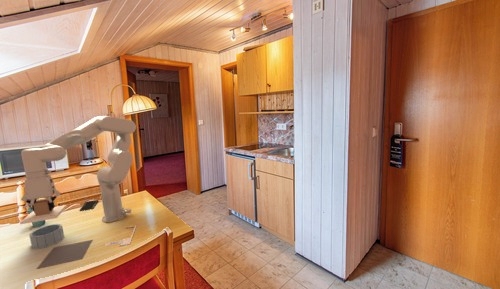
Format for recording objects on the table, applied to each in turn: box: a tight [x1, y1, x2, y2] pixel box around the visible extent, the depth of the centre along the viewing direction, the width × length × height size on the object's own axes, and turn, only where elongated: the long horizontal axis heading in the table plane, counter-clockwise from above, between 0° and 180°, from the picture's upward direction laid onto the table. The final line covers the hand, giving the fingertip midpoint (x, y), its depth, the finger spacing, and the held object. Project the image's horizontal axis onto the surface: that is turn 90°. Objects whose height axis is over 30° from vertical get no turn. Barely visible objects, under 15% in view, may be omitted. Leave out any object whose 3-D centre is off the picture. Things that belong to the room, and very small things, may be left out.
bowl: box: [29, 223, 65, 250], centre depth 113 cm, size 12×12×6 cm
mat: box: [36, 239, 94, 270], centre depth 103 cm, size 16×16×1 cm
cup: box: [22, 198, 46, 228], centre depth 130 cm, size 14×8×15 cm, turn 10°
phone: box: [79, 199, 99, 212], centre depth 157 cm, size 8×1×15 cm
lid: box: [19, 198, 67, 225], centre depth 110 cm, size 13×13×7 cm
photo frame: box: [104, 225, 137, 247], centre depth 116 cm, size 15×1×18 cm
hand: (44, 210), depth 110 cm, fingers closed on lid, 4 cm apart
